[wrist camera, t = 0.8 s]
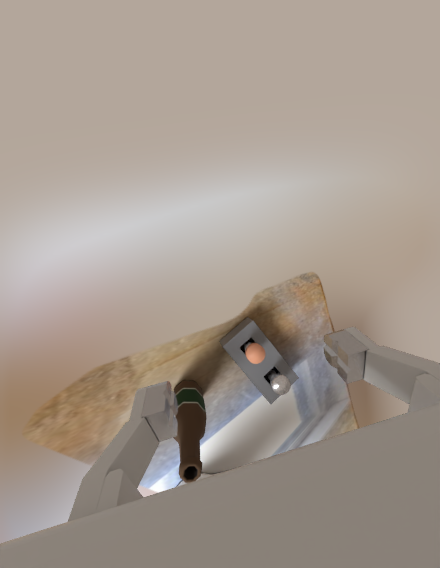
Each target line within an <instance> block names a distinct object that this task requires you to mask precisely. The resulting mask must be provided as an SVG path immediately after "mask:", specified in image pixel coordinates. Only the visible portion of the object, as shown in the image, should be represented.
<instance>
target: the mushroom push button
mask: <svg viewBox="0 0 440 568" xmlns="http://www.w3.org/2000/svg"><path fill="white" fill-rule="evenodd" d="M244 349H245V355H246V357H247V359H248V360H249V361H250V362H251V363H253V364H258V363H261V362H262V361H263V360H264V358H265V350H264V348H263V347H262V346H261V345H259V344H258V343H251V342H246V343H245V344H244Z"/></svg>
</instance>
